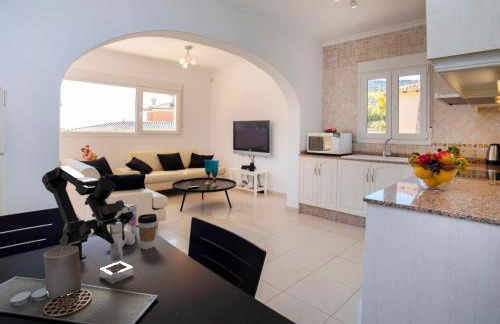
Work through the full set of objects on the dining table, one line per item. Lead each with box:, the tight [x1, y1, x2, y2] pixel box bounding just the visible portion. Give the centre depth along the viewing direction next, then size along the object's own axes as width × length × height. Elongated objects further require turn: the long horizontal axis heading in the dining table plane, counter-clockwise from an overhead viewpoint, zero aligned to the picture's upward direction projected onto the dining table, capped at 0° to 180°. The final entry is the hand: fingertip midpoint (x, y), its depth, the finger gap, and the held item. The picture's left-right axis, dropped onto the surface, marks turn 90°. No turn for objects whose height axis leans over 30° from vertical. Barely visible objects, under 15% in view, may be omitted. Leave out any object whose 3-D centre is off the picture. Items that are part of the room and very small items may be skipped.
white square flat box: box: [99, 260, 134, 284], centre depth 106 cm, size 8×8×3 cm
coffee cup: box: [137, 213, 158, 250], centre depth 134 cm, size 8×8×15 cm
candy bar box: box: [115, 202, 137, 238], centre depth 147 cm, size 11×5×16 cm, turn 62°
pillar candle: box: [43, 246, 82, 299], centre depth 95 cm, size 10×10×15 cm
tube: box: [109, 222, 124, 262], centre depth 105 cm, size 4×4×13 cm
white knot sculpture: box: [106, 225, 136, 248], centre depth 135 cm, size 11×12×9 cm
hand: (118, 241), depth 105 cm, fingers closed on tube, 4 cm apart
